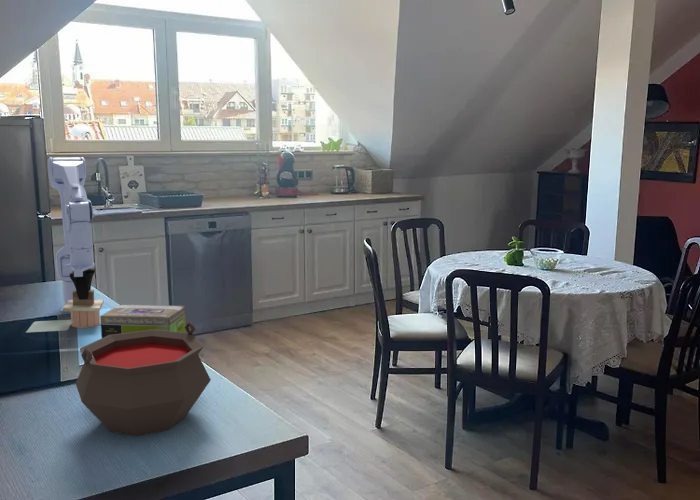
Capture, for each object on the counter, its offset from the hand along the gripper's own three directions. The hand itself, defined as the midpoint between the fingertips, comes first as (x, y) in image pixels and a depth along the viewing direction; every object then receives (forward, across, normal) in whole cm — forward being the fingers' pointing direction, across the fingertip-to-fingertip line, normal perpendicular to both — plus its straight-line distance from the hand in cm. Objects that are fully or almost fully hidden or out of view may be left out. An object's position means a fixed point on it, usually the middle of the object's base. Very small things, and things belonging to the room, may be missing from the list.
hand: (84, 297), depth 176 cm
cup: (+8, 0, 0) cm, 8 cm away
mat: (+8, 0, -9) cm, 12 cm away
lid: (+2, 0, 0) cm, 3 cm away
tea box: (+8, +41, +18) cm, 46 cm away
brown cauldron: (+8, +63, +19) cm, 66 cm away
